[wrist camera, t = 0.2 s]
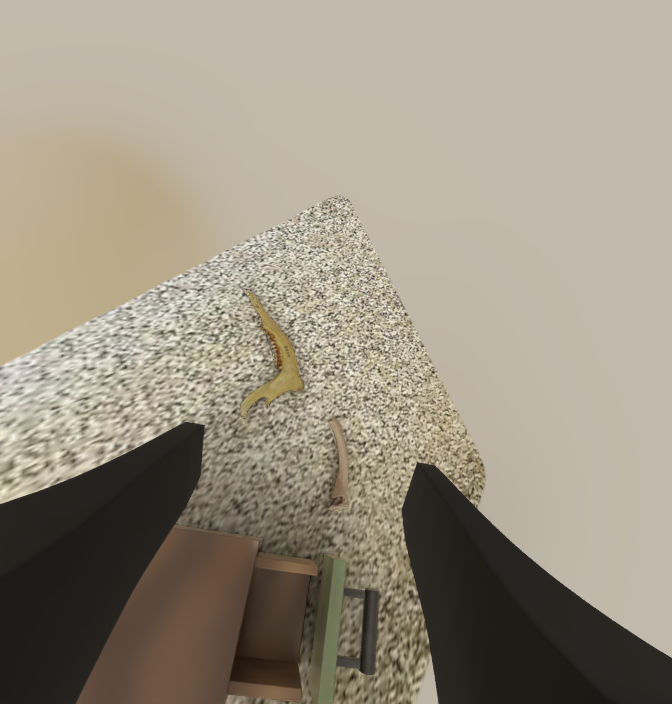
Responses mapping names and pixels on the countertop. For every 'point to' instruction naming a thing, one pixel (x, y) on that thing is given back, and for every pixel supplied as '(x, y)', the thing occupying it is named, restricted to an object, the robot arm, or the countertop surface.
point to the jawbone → (283, 361)
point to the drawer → (297, 630)
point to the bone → (340, 471)
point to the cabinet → (179, 623)
